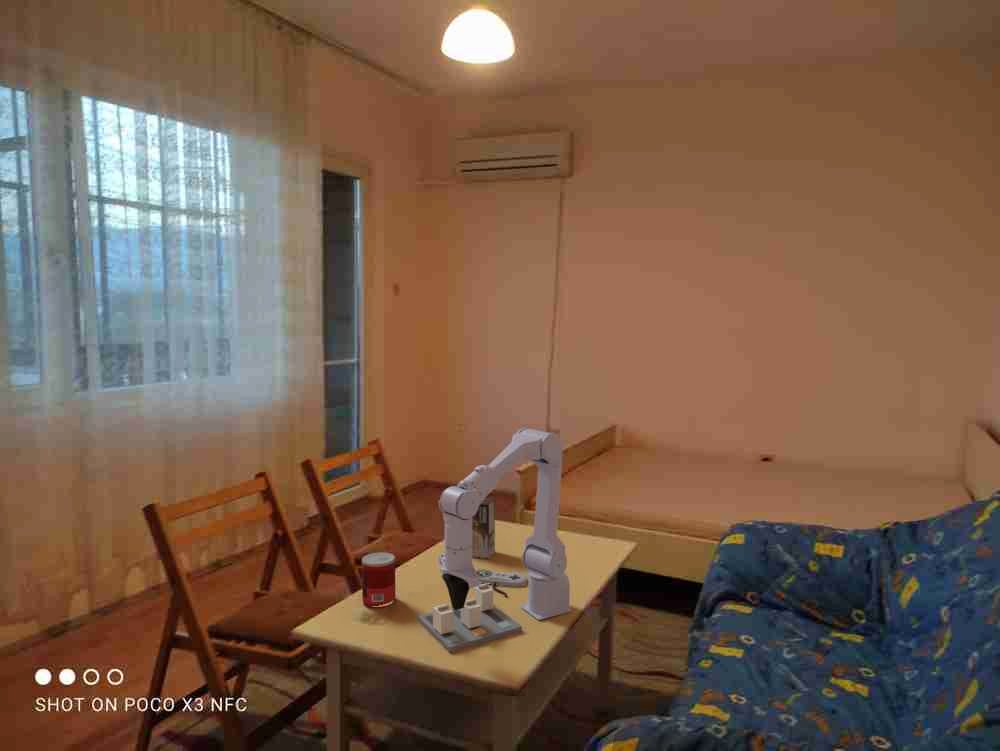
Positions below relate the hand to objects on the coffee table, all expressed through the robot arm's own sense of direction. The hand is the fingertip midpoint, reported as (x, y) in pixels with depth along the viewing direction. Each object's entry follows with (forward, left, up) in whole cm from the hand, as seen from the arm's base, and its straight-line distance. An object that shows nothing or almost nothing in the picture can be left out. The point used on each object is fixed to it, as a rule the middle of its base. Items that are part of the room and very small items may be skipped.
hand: (458, 607), depth 141 cm
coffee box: (-30, -45, -10) cm, 55 cm away
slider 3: (-13, -12, -8) cm, 19 cm away
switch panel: (-7, -8, -9) cm, 14 cm away
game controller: (-24, -24, -10) cm, 35 cm away
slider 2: (-6, -6, -8) cm, 12 cm away
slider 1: (0, -7, -8) cm, 10 cm away
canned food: (+6, -30, -10) cm, 32 cm away
